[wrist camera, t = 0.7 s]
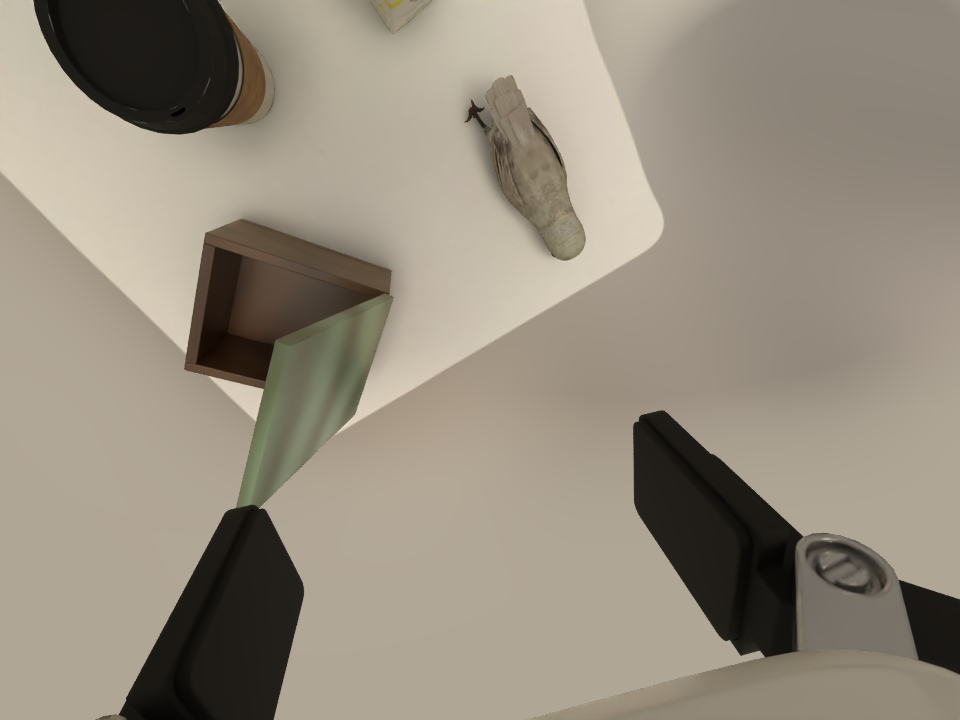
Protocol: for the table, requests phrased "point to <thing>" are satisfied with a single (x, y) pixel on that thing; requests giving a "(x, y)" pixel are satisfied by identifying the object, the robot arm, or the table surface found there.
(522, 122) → the decorative bird
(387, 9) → the ink box
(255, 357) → the cold frame
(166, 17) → the coffee cup
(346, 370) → the green rectangular panel
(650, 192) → the table surface
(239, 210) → the table surface
